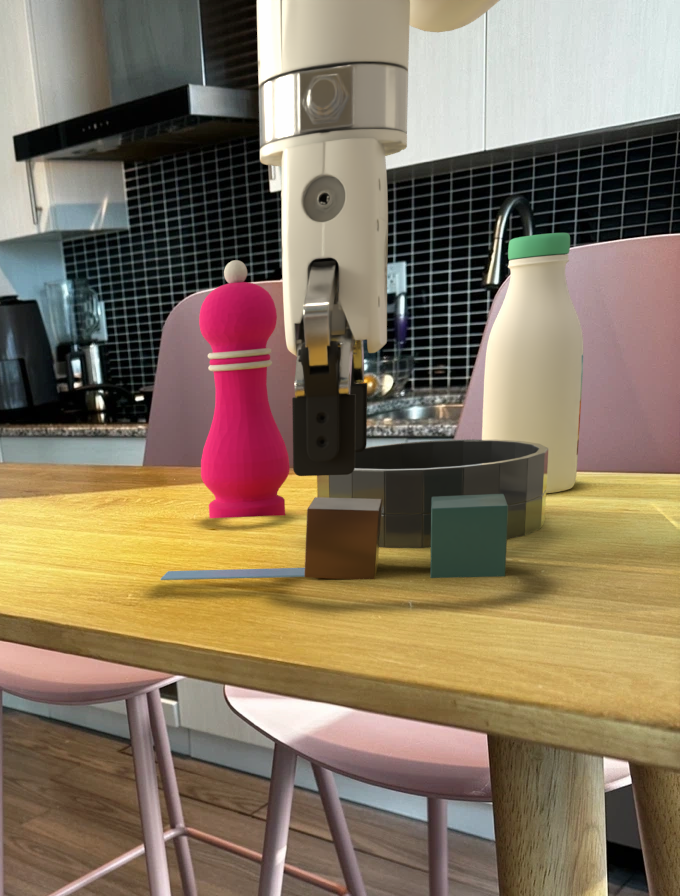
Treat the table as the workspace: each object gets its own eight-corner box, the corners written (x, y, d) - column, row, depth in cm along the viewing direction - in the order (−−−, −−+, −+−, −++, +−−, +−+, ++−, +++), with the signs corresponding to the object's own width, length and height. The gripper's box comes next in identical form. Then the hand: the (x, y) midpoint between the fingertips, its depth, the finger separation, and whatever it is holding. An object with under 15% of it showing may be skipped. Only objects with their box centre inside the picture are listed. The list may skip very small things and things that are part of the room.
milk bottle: (576, 495, 84) (593, 226, 77) (477, 498, 87) (485, 238, 80) (575, 480, 91) (591, 232, 84) (483, 483, 93) (491, 242, 86)
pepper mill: (232, 513, 90) (219, 265, 83) (306, 515, 86) (299, 255, 79) (187, 529, 85) (169, 265, 78) (264, 532, 81) (252, 254, 74)
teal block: (501, 561, 61) (503, 493, 59) (505, 578, 57) (508, 505, 56) (430, 563, 62) (431, 496, 60) (430, 579, 58) (431, 508, 57)
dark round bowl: (476, 512, 81) (479, 434, 79) (588, 546, 67) (595, 452, 65) (291, 535, 79) (288, 454, 77) (365, 574, 65) (364, 478, 62)
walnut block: (377, 564, 62) (382, 498, 61) (374, 580, 59) (378, 510, 57) (311, 562, 63) (314, 497, 62) (304, 577, 60) (307, 508, 58)
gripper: (402, 79, 44) (394, 483, 50) (411, 140, 60) (404, 443, 66) (230, 101, 46) (242, 487, 52) (282, 155, 62) (286, 447, 68)
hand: (332, 462), depth 59 cm, fingers open, 9 cm apart
